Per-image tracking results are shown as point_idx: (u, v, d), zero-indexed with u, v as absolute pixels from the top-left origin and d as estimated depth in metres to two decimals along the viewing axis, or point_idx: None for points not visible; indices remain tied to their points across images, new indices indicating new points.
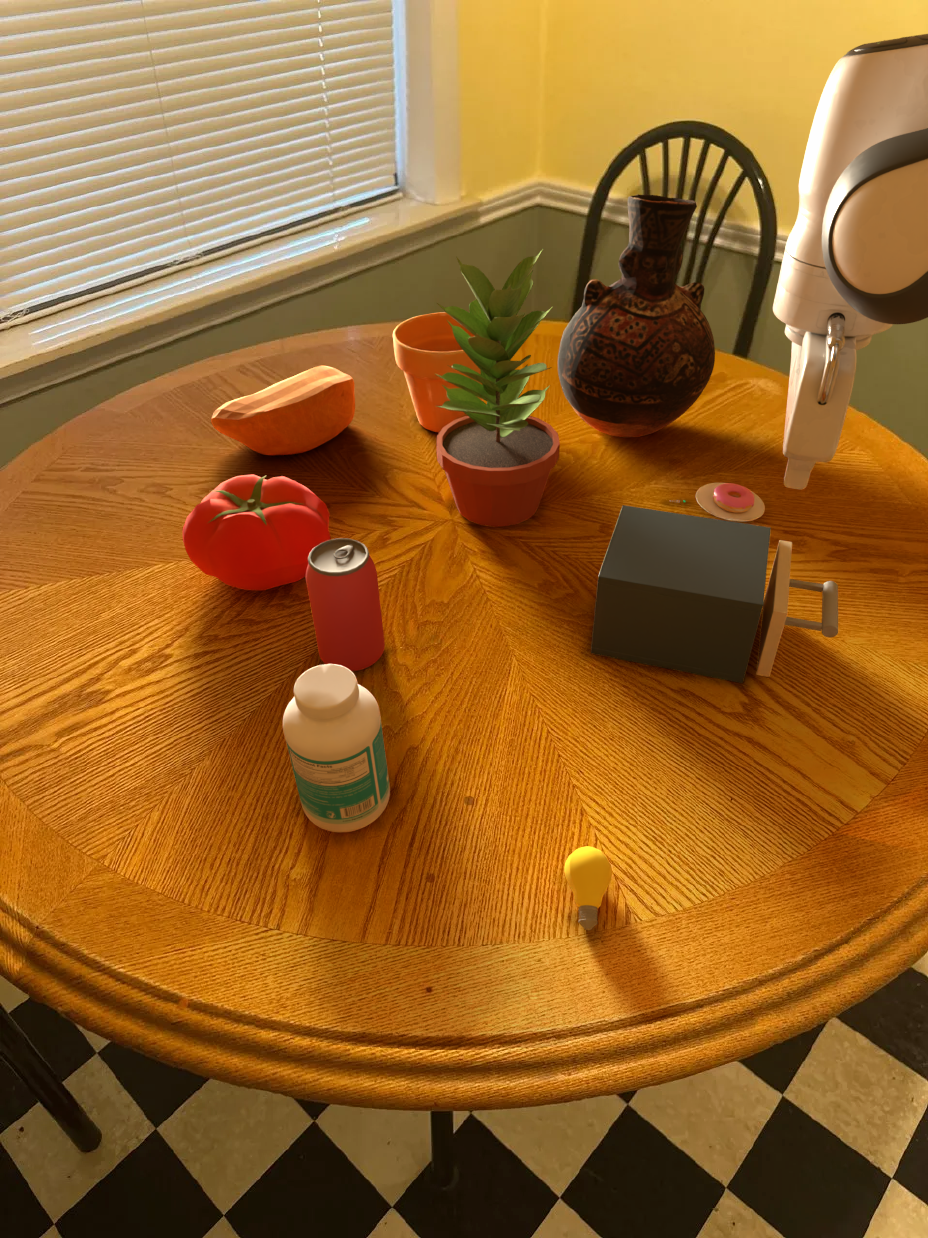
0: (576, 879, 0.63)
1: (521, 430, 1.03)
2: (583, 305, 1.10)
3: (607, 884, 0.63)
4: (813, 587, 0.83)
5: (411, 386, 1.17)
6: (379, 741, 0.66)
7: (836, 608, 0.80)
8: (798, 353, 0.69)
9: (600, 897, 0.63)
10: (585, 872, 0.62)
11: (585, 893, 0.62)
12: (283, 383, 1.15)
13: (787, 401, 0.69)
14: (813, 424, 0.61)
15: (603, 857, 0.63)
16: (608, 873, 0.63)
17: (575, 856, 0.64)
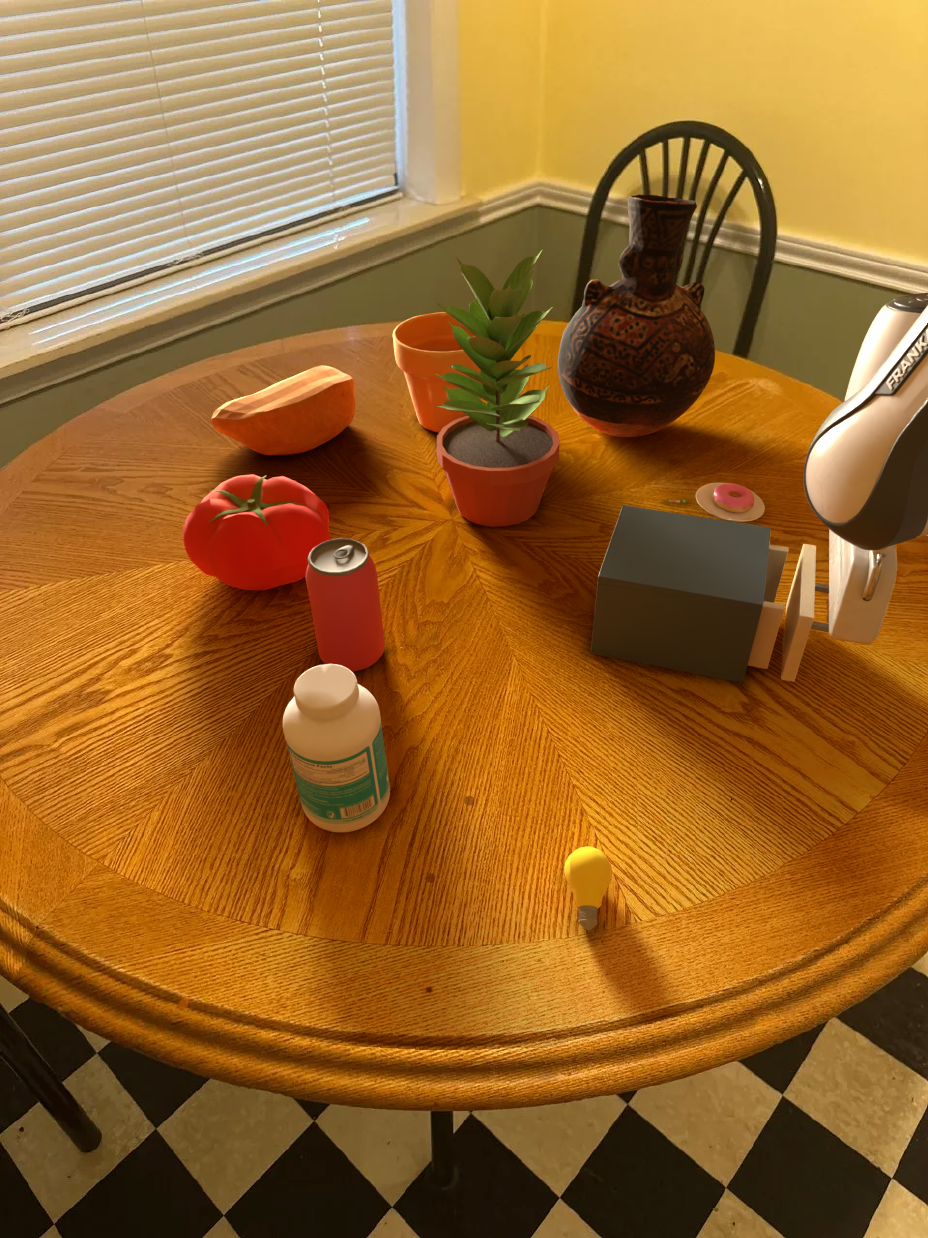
0: (576, 879, 0.63)
1: (521, 430, 1.03)
2: (583, 305, 1.10)
3: (607, 885, 0.63)
4: None
5: (411, 386, 1.17)
6: (379, 741, 0.66)
7: None
8: None
9: (600, 897, 0.63)
10: (585, 872, 0.62)
11: (585, 893, 0.62)
12: (283, 383, 1.15)
13: (829, 575, 0.76)
14: (857, 616, 0.69)
15: (603, 857, 0.63)
16: (608, 873, 0.63)
17: (575, 856, 0.64)
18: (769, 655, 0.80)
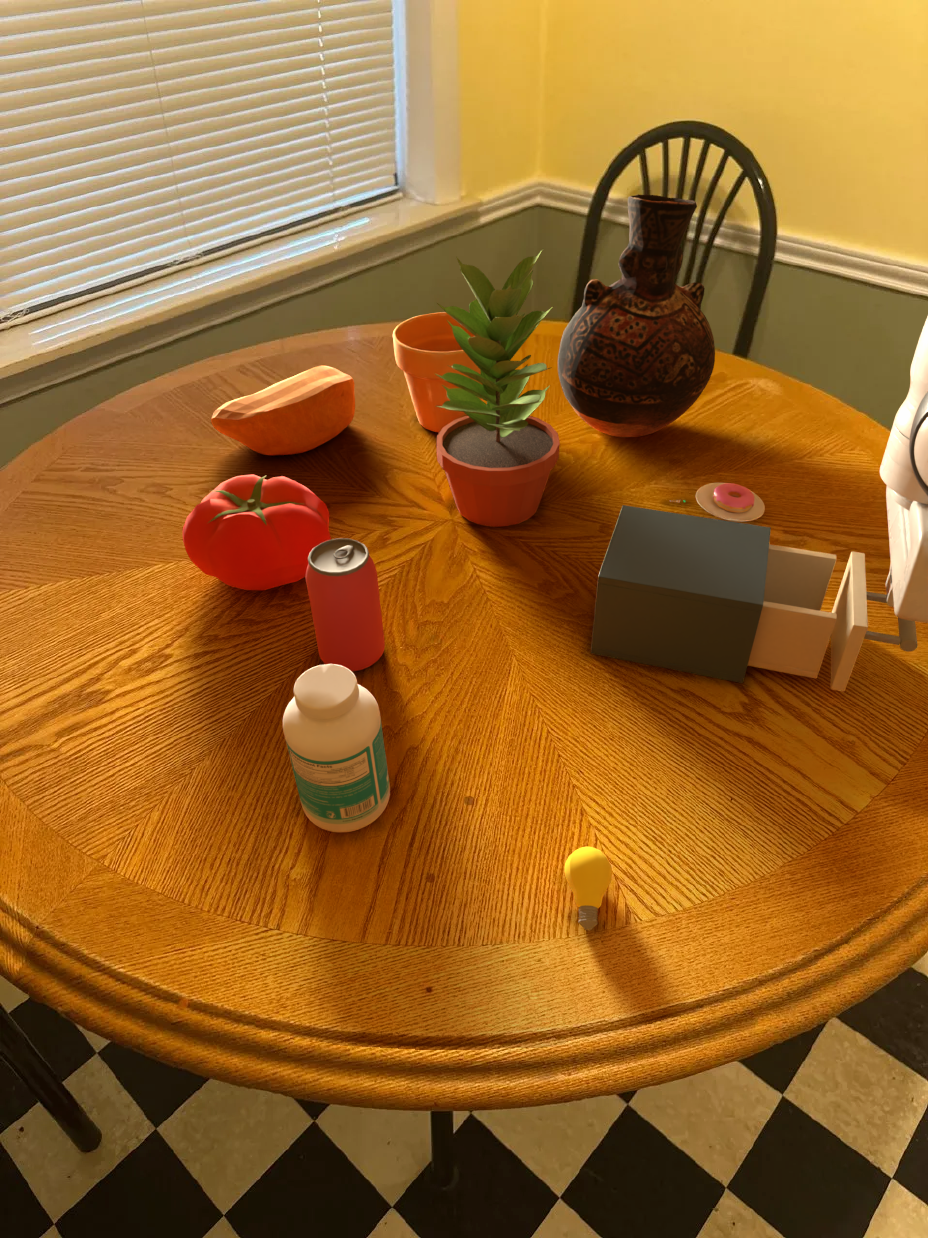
0: (576, 879, 0.63)
1: (521, 430, 1.03)
2: (583, 305, 1.10)
3: (607, 885, 0.63)
4: None
5: (411, 386, 1.17)
6: (379, 741, 0.66)
7: (913, 621, 0.78)
8: (901, 509, 0.73)
9: (600, 897, 0.63)
10: (585, 872, 0.62)
11: (585, 893, 0.62)
12: (283, 383, 1.15)
13: (891, 554, 0.73)
14: (926, 593, 0.66)
15: (603, 857, 0.63)
16: (608, 873, 0.63)
17: (575, 856, 0.64)
18: (819, 664, 0.79)
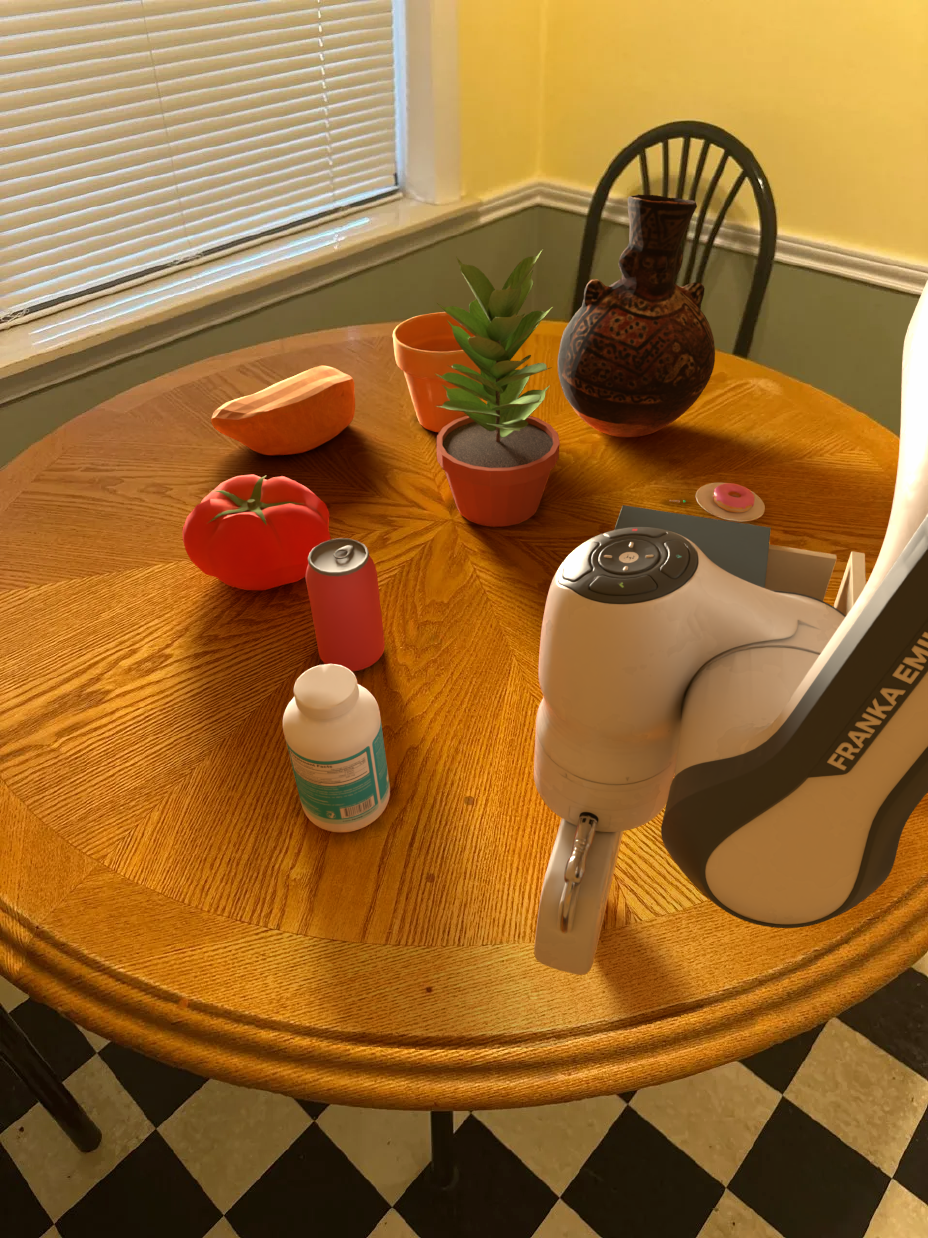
0: None
1: (521, 430, 1.03)
2: (583, 305, 1.10)
3: None
4: None
5: (411, 386, 1.17)
6: (379, 741, 0.66)
7: None
8: None
9: None
10: None
11: None
12: (283, 383, 1.15)
13: None
14: (558, 947, 0.51)
15: None
16: None
17: None
18: None
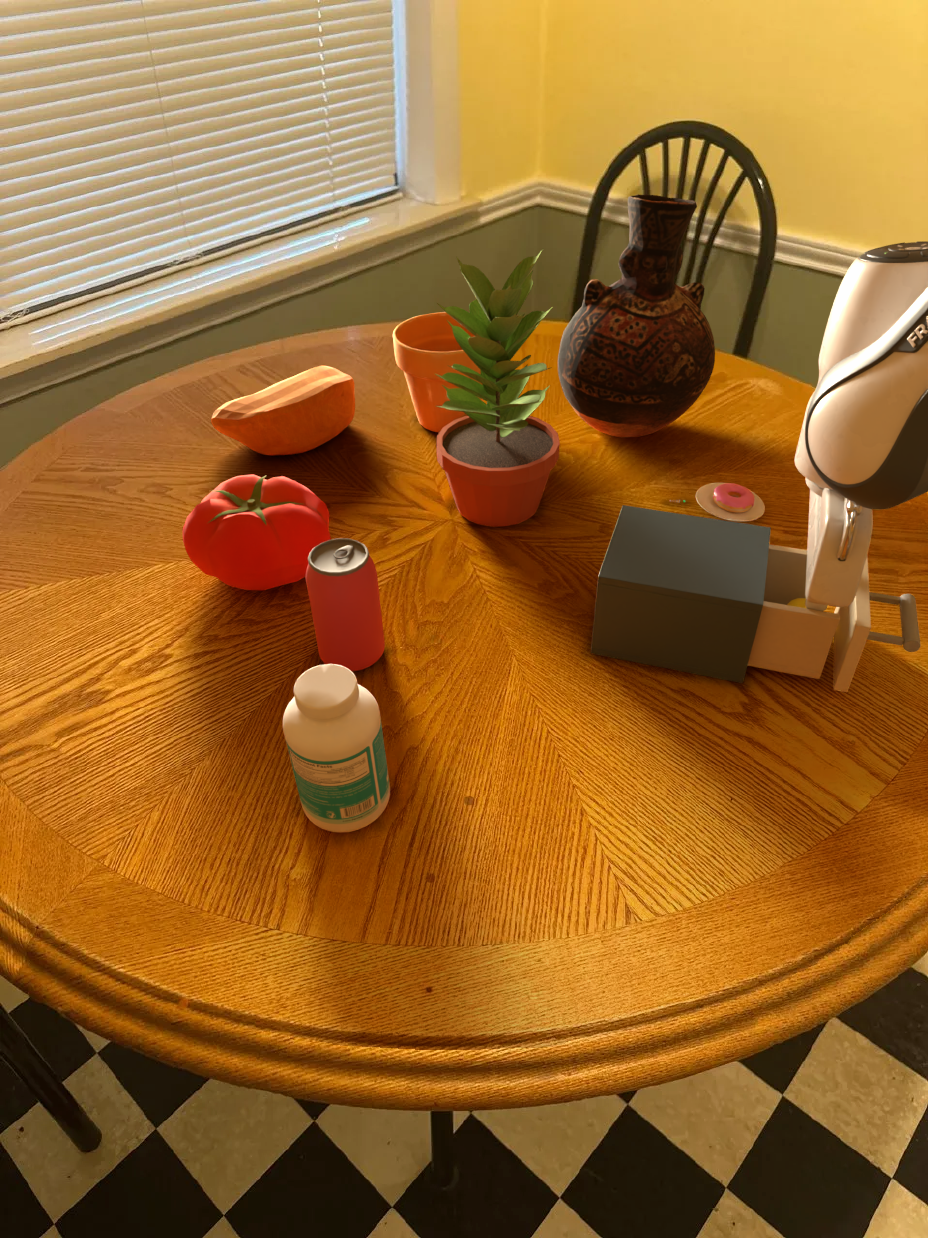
0: None
1: (521, 430, 1.03)
2: (583, 305, 1.10)
3: None
4: (890, 600, 0.81)
5: (411, 386, 1.17)
6: (379, 741, 0.66)
7: (916, 622, 0.78)
8: (817, 496, 0.75)
9: None
10: None
11: None
12: (283, 383, 1.15)
13: (808, 540, 0.75)
14: (833, 577, 0.67)
15: None
16: None
17: (792, 603, 0.82)
18: (822, 665, 0.79)
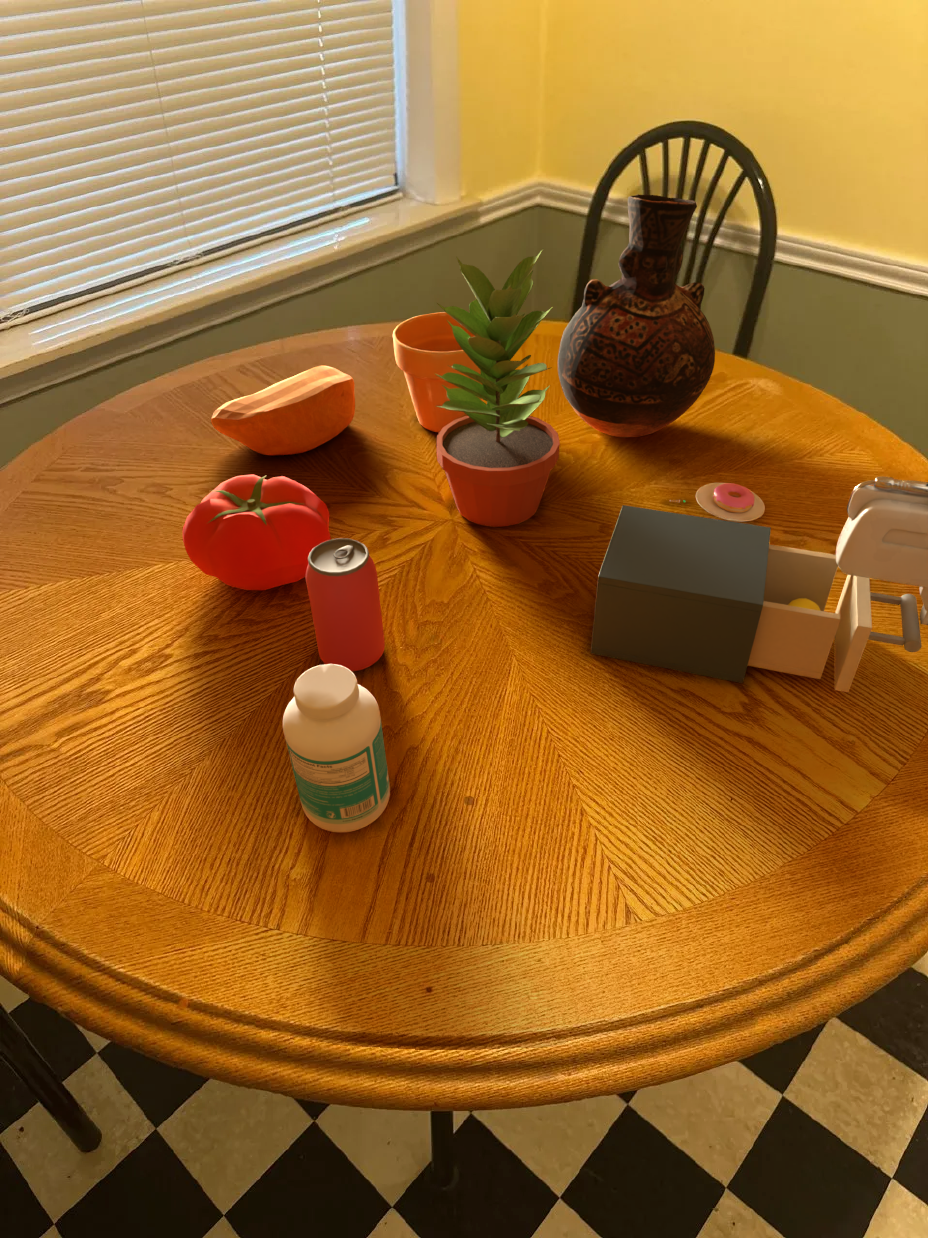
0: None
1: (521, 430, 1.03)
2: (583, 305, 1.10)
3: None
4: (891, 600, 0.81)
5: (411, 386, 1.17)
6: (379, 741, 0.66)
7: (917, 622, 0.78)
8: None
9: None
10: None
11: None
12: (283, 383, 1.15)
13: None
14: (844, 532, 0.76)
15: (815, 603, 0.82)
16: None
17: (793, 603, 0.82)
18: (823, 665, 0.79)
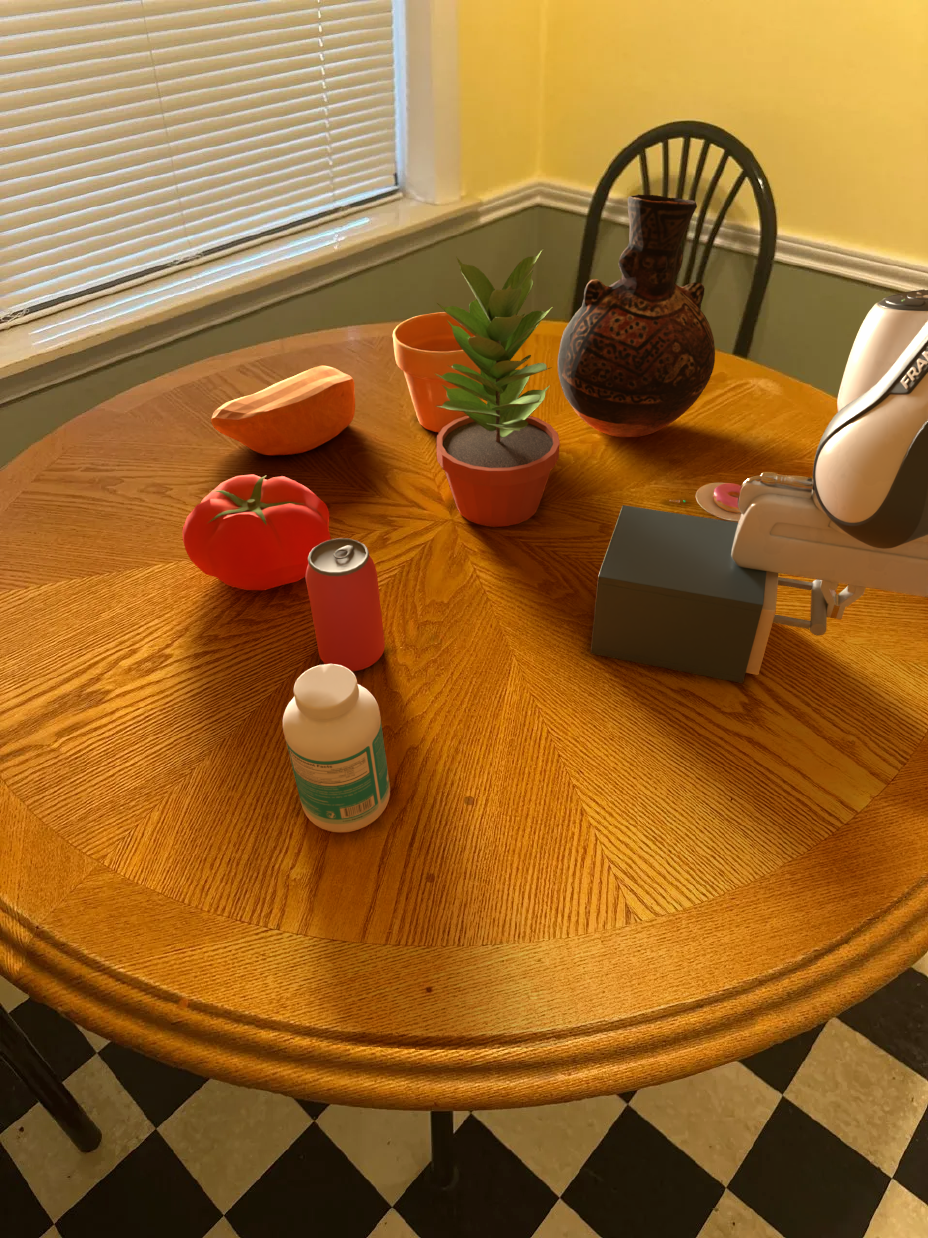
0: None
1: (521, 430, 1.03)
2: (583, 305, 1.10)
3: None
4: (802, 585, 0.83)
5: (411, 386, 1.17)
6: (379, 741, 0.66)
7: (825, 606, 0.80)
8: None
9: None
10: None
11: None
12: (283, 383, 1.15)
13: None
14: (738, 526, 0.79)
15: None
16: None
17: None
18: None
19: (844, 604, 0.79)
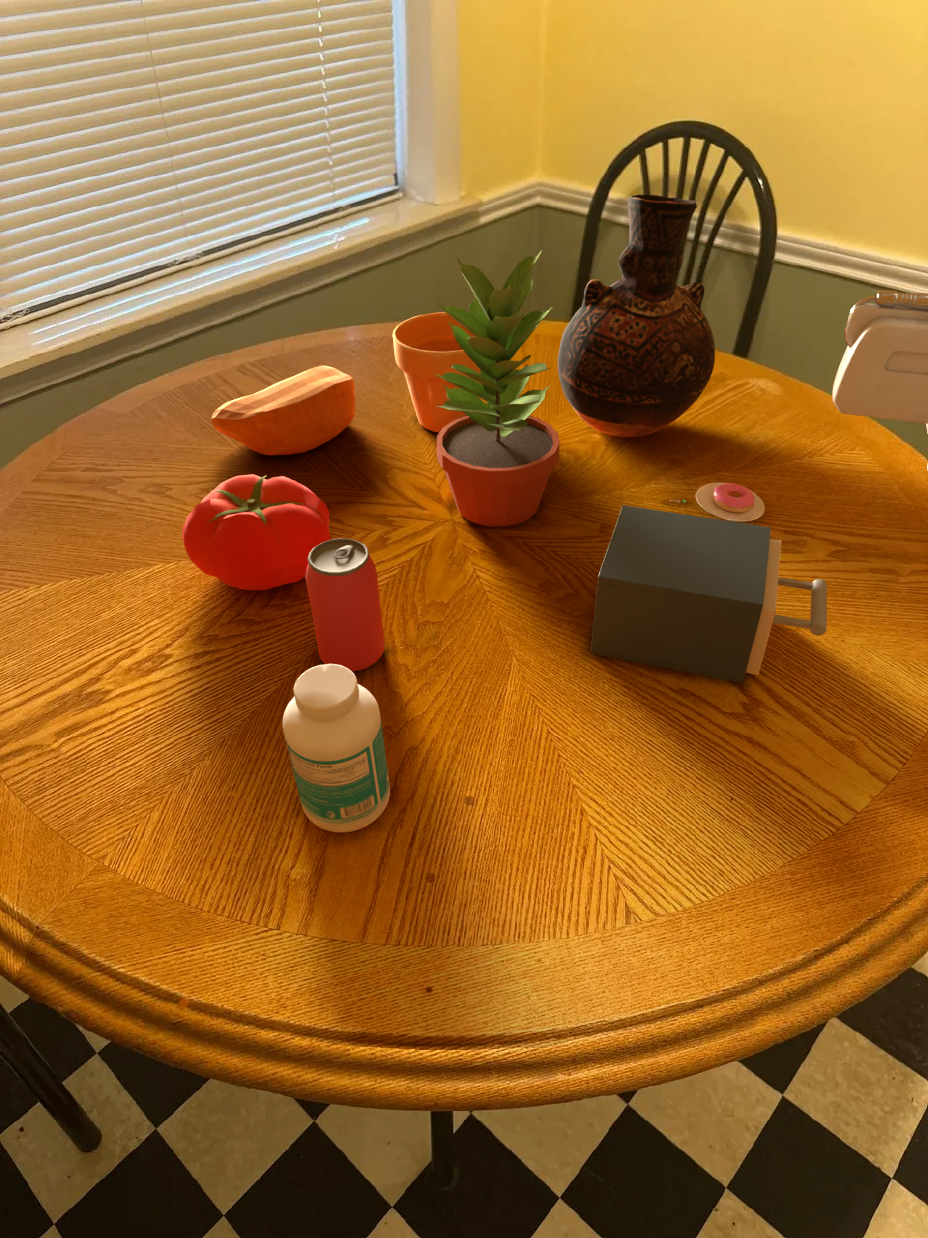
0: None
1: (521, 430, 1.03)
2: (583, 305, 1.10)
3: None
4: (802, 585, 0.83)
5: (411, 386, 1.17)
6: (379, 741, 0.66)
7: (825, 606, 0.80)
8: None
9: None
10: None
11: None
12: (283, 383, 1.15)
13: None
14: (841, 364, 0.67)
15: None
16: None
17: None
18: None
19: None
